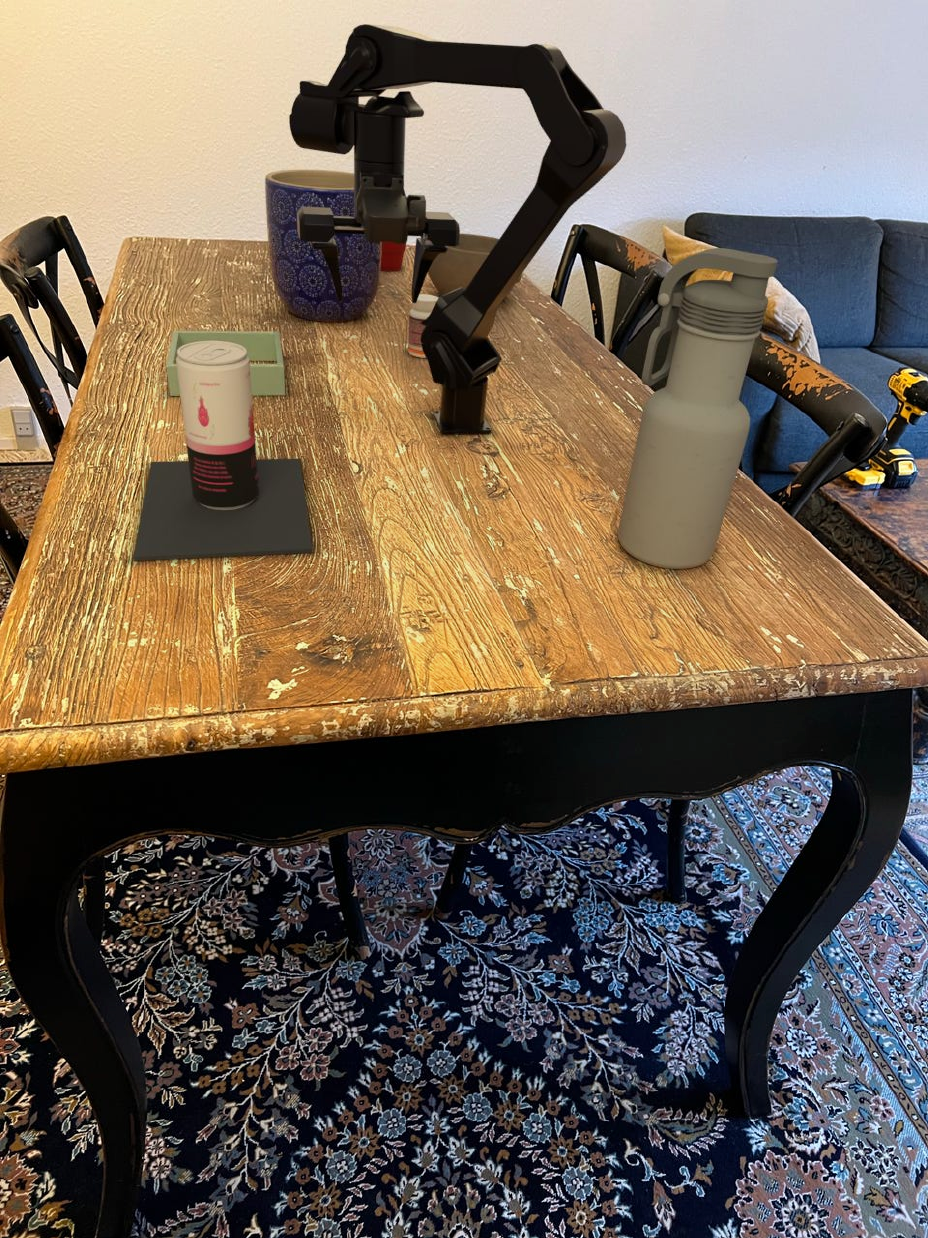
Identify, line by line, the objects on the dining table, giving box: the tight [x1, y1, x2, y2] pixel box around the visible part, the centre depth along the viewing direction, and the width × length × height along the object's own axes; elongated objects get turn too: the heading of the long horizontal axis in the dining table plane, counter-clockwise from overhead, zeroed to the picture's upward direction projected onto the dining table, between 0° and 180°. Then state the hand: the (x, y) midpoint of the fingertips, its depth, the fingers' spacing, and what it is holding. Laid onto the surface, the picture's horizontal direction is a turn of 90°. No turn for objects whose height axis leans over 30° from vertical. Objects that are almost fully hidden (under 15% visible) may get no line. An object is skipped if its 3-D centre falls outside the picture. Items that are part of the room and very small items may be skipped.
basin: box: [165, 330, 286, 397], centre depth 114 cm, size 15×15×4 cm
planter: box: [264, 169, 382, 323], centre depth 137 cm, size 18×18×21 cm
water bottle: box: [617, 247, 779, 570], centre depth 77 cm, size 10×10×28 cm
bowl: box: [427, 232, 523, 299], centre depth 155 cm, size 17×18×10 cm
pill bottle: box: [407, 293, 439, 359], centre depth 127 cm, size 5×5×8 cm
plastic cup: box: [380, 242, 407, 272], centre depth 169 cm, size 11×11×12 cm
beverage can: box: [176, 341, 259, 510], centre depth 82 cm, size 7×7×15 cm
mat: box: [132, 458, 314, 562], centre depth 85 cm, size 20×16×1 cm
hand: (377, 301), depth 104 cm, fingers open, 9 cm apart
